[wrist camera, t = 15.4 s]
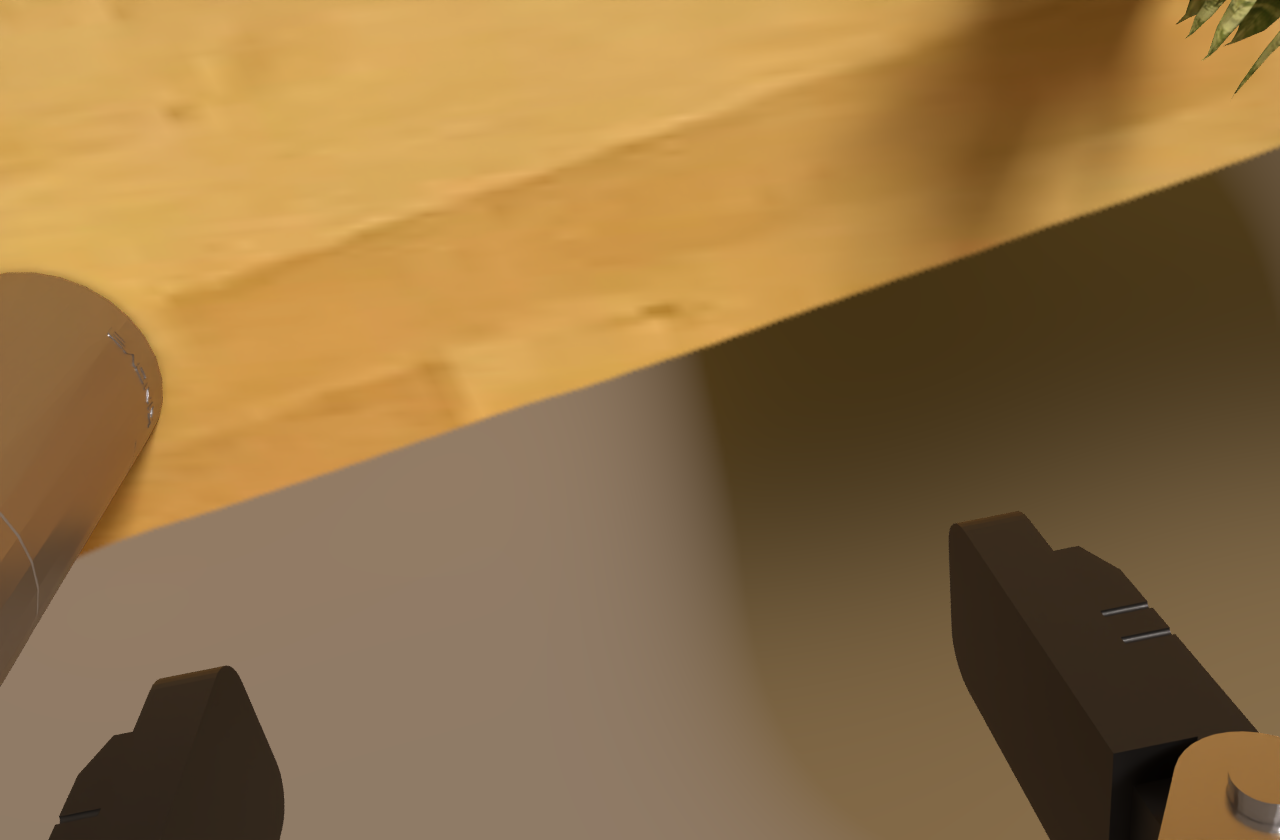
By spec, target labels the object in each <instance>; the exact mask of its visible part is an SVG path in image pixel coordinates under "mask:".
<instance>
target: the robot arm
mask: <svg viewBox="0 0 1280 840" xmlns="http://www.w3.org/2000/svg"><path fill="white" fill-rule="evenodd" d="M162 401H163V393H162V377H161V373H160V370H159V366H158V363H157V359H156V356H155V355H154V353H153V351H152V349H151V347H150V345H149V343H148V341H147V340H146V338H145V336H144V335H143V334H142V332H141V331H140V330H139V329H138V328H137V326H136V325H135V324H134V323H133V322H132V320H131V319H130V318H129V317H128V316H127V315H126V314H124V313H123V312H122V311H121V310H120V309H119V308H117V307H116V306H115V305H114V304H113V303H111V302H110V301H109V300H107V299H106V298H104V297H102V296H100V295H99V294H97V293H95V292H94V291H92V290H90V289H88V288H87V287H84V286H82V285H79V284H76V283H74V282H71V281H68V280H66V279H63V278H60V277H55V276H49V275H44V274H39V273H3V274H0V686H1V685H2V683H3V681H4V680H5V678H6V676H7V675H8V673H9V671H10V669H11V668H12V666H13V665H14V663H15V661H16V659H17V658H18V656H19V654H20V653H21V651H22V649H23V648H24V646H25V644H26V643H27V641H28V639H29V637H30V635H31V634H32V632H33V630H34V628H35V627H36V625H37V623H38V622H39V620H40V618H41V617H42V615H43V614H44V612H45V610H46V609H47V607H48V605H49V604H50V602H51V600H52V599H53V597H54V595H55V593H56V591H57V590H58V588H59V587H60V585H61V583H62V582H63V580H64V578H65V577H66V575H67V573H68V572H69V570H70V568H71V566H72V565H73V563H74V562H75V560H76V558H77V557H78V555H79V553H80V552H81V550H82V548H83V547H84V545H85V543H86V542H87V540H88V538H89V537H90V535H91V533H92V532H93V530H94V528H95V527H96V525H97V523H98V522H99V520H100V518H101V517H102V515H103V513H104V512H105V510H106V508H107V507H108V505H109V503H110V501H111V500H112V498H113V496H114V495H115V493H116V491H117V490H118V488H119V486H120V485H121V483H122V482H123V480H124V478H125V477H126V475H127V473H128V472H129V470H130V468H131V467H132V465H133V463H134V462H135V460H136V458H137V457H138V455H139V453H140V452H141V450H142V448H143V447H144V445H145V443H146V442H147V440H148V438H149V436H150V435H151V433H152V431H153V429H154V427H155V425H156V423H157V421H158V419H159V414H160V410H161V405H162ZM949 564H950V565H949V566H950V593H951V621H952V638H953V645H954V650H955V654H956V658H957V662H958V666H959V669H960V672H961V675H962V678H963V680H964V682H965V685H966V687H967V689H968V691H969V693H970V695H971V696H972V698H973V700H974V702H975V704H976V705H977V707H978V709H979V711H980V713H981V714H982V716H983V718H984V720H985V722H986V724H987V726H988V727H989V729H990V731H991V733H992V735H993V736H994V738H995V740H996V742H997V744H998V746H999V747H1000V749H1001V751H1002V753H1003V755H1004V756H1005V758H1006V760H1007V762H1008V764H1009V765H1010V767H1011V769H1012V771H1013V773H1014V775H1015V777H1016V778H1017V780H1018V782H1019V784H1020V786H1021V787H1022V789H1023V791H1024V793H1025V795H1026V797H1027V798H1028V800H1029V802H1030V804H1031V806H1032V807H1033V809H1034V811H1035V813H1036V815H1037V817H1038V818H1039V820H1040V822H1041V824H1042V826H1043V828H1044V829H1045V831H1046V833H1047V835H1048V837H1049V838H1050V840H1280V737H1277V736H1274V735H1269V734H1263V733H1259V732H1258V731H1257V730H1256V729H1255V727H1254V726H1253V725H1252V724H1251V723H1250V722H1249V721H1248V719H1247V718H1246V717H1245V716H1244V715H1243V713H1242V712H1241V711H1240V710H1239V709H1238V708H1237V706H1236V705H1235V704H1234V703H1233V702H1232V700H1231V699H1230V698H1229V697H1228V696H1227V695H1226V694H1225V692H1224V691H1223V690H1222V689H1221V688H1220V686H1219V685H1218V684H1217V683H1216V682H1215V681H1214V679H1213V678H1212V677H1211V676H1210V675H1209V673H1208V672H1207V671H1206V670H1205V669H1204V668H1203V666H1202V665H1201V664H1200V663H1199V662H1198V660H1197V659H1196V658H1195V657H1194V656H1193V655H1192V653H1191V652H1190V651H1189V650H1188V649H1187V648H1186V646H1185V645H1184V644H1183V643H1182V642H1181V640H1180V639H1179V638H1178V637H1177V636H1176V635H1175V634H1173V635H1172V634H1171V633H1170V629H1169V626H1168V625H1167V624H1166V623H1165V622H1164V620H1163V619H1162V618H1161V617H1160V616H1159V615H1158V613H1157V612H1156V611H1155V610H1154V609H1153V608H1149V607H1148V604H1147V600H1146V599H1145V598H1144V597H1143V596H1142V595H1141V593H1140V592H1139V591H1138V590H1137V589H1136V588H1135V586H1134V585H1133V584H1132V583H1131V582H1130V581H1129V579H1128V578H1127V577H1126V576H1125V575H1124V573H1123V572H1122V571H1121V570H1120V569H1118V568H1116V567H1115V566H1113V565H1111V564H1109V563H1108V562H1106V561H1104V560H1102V559H1101V558H1099V557H1097V556H1095V555H1093V554H1091V553H1090V552H1088V551H1086V550H1085V549H1083V548H1081V547H1079V546H1076V547H1071V548H1066V549H1061V550H1056V551H1053V550H1052V548H1051V547H1050V546H1049V545H1048V543H1047V542H1046V541H1045V539H1044V538H1043V537H1042V536H1041V534H1040V533H1039V532H1038V530H1037V529H1036V528H1035V527H1034V525H1033V524H1032V523H1031V521H1030V520H1029V519H1028V518H1027V517H1026V516H1025V514H1023V513H1022V512H1019V511H1016V512H1011V513H1006V514H1001V515H995V516H991V517H986V518H980V519H975V520H971V521H965V522H961V523H955V524H953V525H952V526H951V528H950V532H949ZM59 817H60V824H57V825H55V827H54V829H53V831H52V833H51V835H50V838H49V840H280V835H281V831H282V826H283V820H284V792H283V785H282V779H281V774H280V771H279V768H278V765H277V762H276V760H275V758H274V755H273V753H272V751H271V748H270V746H269V744H268V741H267V739H266V737H265V734H264V732H263V730H262V727H261V725H260V723H259V721H258V718H257V716H256V713H255V711H254V709H253V706H252V704H251V702H250V699H249V697H248V695H247V693H246V690H245V688H244V686H243V683H242V681H241V679H240V677H239V675H238V674H237V672H236V671H235V670H234V669H233V668H232V667H230V666H222V667H217V668H212V669H207V670H202V671H197V672H192V673H186V674H182V675H176V676H171V677H166V678H162V679H159V680H157V681H156V682H155V683H154V684H153V686H152V688H151V690H150V692H149V694H148V697H147V699H146V701H145V704H144V706H143V709H142V711H141V714H140V716H139V718H138V721H137V723H136V725H135V728H134V730H133V732H129V733H124V734H119V735H114V736H113V737H112V738H111V739H110V740H109V741H108V742H107V743H106V745H105V746H104V747H103V748H102V749H101V750H100V751H99V752H98V753H97V755H96V756H95V757H94V758H93V759H92V760H91V761H90V762H89V763H88V765H87V766H86V767H85V768H84V769H83V770H82V771H81V772H80V773H79V775H78V776H77V778H76V781H75V783H74V785H73V787H72V789H71V792H70V794H69V796H68V798H67V800H66V802H65V805H64V807H63V809H62V811H61V813H60V816H59Z"/></svg>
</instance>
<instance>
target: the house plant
mask: <svg viewBox="0 0 1280 840" xmlns="http://www.w3.org/2000/svg"><path fill="white" fill-rule="evenodd" d="M1224 1H1226V0H1190V2H1189V5H1188V8H1187V11H1186V14H1185V15H1184V16H1183V17H1182V19H1181V20H1180V21H1179V22H1178V23H1180V22H1182V21H1184V20H1186V19H1188V18H1189V17H1192V16H1194V15H1196V17H1195V19H1194V22H1193V25H1192V28H1191V31H1190V33H1189V35H1188V36H1187V37H1189V36H1190V35H1191V34H1193V33H1194V32H1195V31H1196V30H1197V29H1198V28H1199V27H1200V26H1201V25H1202V24H1203V23H1204V22H1205V21H1207V20H1208V19H1209V18H1210V17H1211V16H1212V15H1213V14H1214V13H1215V12H1216V11H1217V9H1218V8H1219V7H1220V6H1221V5H1222V4H1223V2H1224ZM1279 17H1280V0H1232V1H1231V3H1230V4H1229V6H1228V8H1227V10H1226V12H1225V13H1224V15H1223V17H1222V19H1221V21H1220V22H1219V24H1218V26H1217V29H1216V32H1215V35H1214V38H1213V41H1212V44H1211V47H1210V50H1209V53H1208V55H1207V56H1206V57H1205V58H1204V59H1206V58H1207V57H1209V56H1210V55H1211V54H1212V53H1213V52H1215V51H1216V50H1217V48H1218V47H1219V46H1220V45H1221V44H1222V43H1223V42H1224V41H1225V39H1226V38H1227V37H1228V36H1229V35H1230V34H1231V33H1232V32H1233V31H1234V29H1235V28H1236V27H1237V26H1238V25H1239V28H1238V31H1237V33H1236V35H1235V36H1234V38H1233V40H1232V41H1231V42H1230V43H1228V44H1226V45H1229V44H1232V43H1235V42H1237V41H1240V40H1242V39H1245V38H1247V37H1250V36H1252V35H1254V34H1257V33H1259V32H1262V31H1264V30H1265V29H1267V28H1268V27H1269V26H1270V25H1271V24H1272V23H1274V22H1275V21H1276V20H1277V19H1278V18H1279ZM1178 23H1177V24H1178ZM1187 37H1186V38H1187ZM1226 45H1225V46H1226ZM1279 46H1280V31H1279V33H1278V34H1277V35H1276V36H1275V38H1274V39H1273V40H1272V41H1271V43H1270V44H1269V45H1268V46H1267V48H1266V49H1265V50H1264V52H1263V53H1262V54H1261V56H1260V57H1259V58H1258V60H1257V61H1256V62H1255V64H1254V65H1253V66H1252V68H1251V69H1250V71H1249V72H1248V74H1247V75H1246V76H1245V78H1244V79H1243V81H1242V82H1241V84H1240V85H1239V87H1238V88H1237V90H1236V92H1237V91H1238V90H1239V89H1240V88H1241V86H1242V85H1243V84H1244V83H1245V82H1246V81H1247V80H1248V79H1249V78H1250V77H1251V75H1252V74H1253V73H1254V72H1255V71H1256V70H1257V69H1258V68H1259V66H1260V65H1261V64H1262V63H1263V62H1264V61H1265V60H1266V59H1267V57H1268V56H1269V55H1270V54H1271V53H1272V52H1273V51H1274V50H1275V49H1276V48H1278V47H1279ZM1204 59H1203V60H1204ZM1203 60H1202V61H1203ZM1236 92H1235V93H1236ZM1235 93H1234V94H1235ZM1233 96H1234V95H1233Z"/></svg>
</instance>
